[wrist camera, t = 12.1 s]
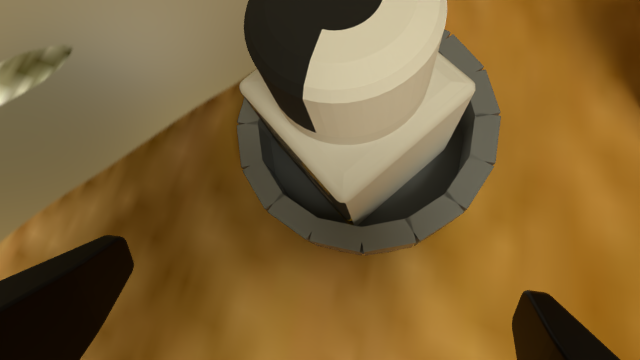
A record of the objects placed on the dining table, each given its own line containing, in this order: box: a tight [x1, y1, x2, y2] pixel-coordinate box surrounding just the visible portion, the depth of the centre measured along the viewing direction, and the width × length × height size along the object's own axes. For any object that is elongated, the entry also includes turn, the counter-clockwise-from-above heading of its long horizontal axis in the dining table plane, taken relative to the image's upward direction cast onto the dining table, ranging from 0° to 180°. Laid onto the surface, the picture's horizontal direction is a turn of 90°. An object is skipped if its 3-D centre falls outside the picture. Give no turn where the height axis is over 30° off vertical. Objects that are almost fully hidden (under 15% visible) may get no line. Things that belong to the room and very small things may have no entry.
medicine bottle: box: [239, 0, 475, 226], centre depth 16 cm, size 7×7×12 cm
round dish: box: [237, 30, 501, 256], centre depth 21 cm, size 14×14×3 cm
